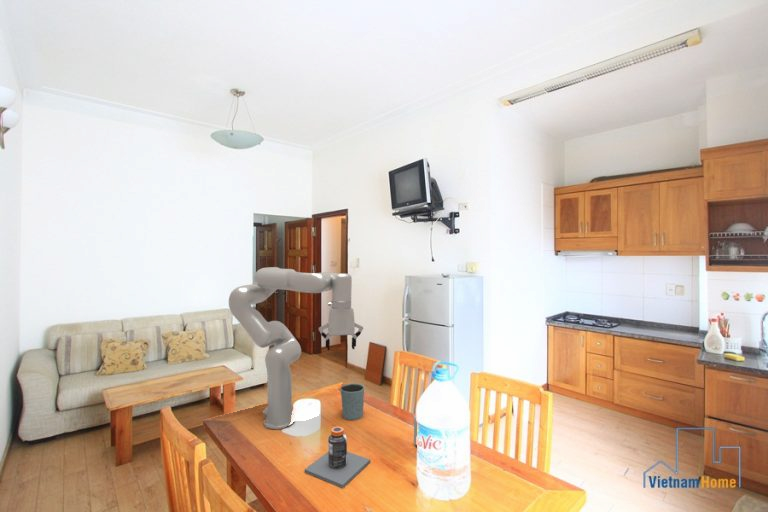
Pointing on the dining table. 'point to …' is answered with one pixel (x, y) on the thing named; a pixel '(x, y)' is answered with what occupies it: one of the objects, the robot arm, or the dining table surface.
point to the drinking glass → (352, 401)
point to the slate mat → (338, 475)
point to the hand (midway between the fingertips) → (340, 348)
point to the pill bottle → (337, 448)
